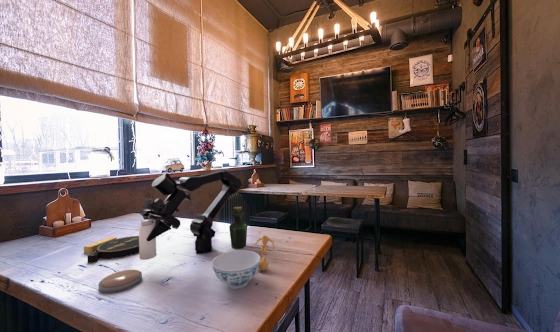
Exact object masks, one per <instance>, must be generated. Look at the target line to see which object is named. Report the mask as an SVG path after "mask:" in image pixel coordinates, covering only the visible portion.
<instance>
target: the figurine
mask: <svg viewBox="0 0 560 332" xmlns="http://www.w3.org/2000/svg"><path fill="white" fill-rule="evenodd" d="M260 241H262V242H261V243H262V244H261V245H260V250H259V253H260V254H261V256H260V263H259V267H258V270H259V271H261V272H264V271H266V270H268V267H269V262H268V260H267V259H266V258H267V254H268V253H267V252H268V248H269V245H268V242H271V243H272V249H273V251H275V250H276V249H275V244H274V241H273V240H272V239H271V238H270V237H269V236H268V235H264V234H263V235H262V237H260V238H257V240H256V242H255V243H254V245H253V248H255V247H256V246H257V244H258V242H260ZM263 251H264V253H263ZM263 254H264V258H263Z"/></svg>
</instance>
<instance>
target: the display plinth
mask: <svg viewBox="0 0 560 332" xmlns="http://www.w3.org/2000/svg"><path fill="white" fill-rule="evenodd" d="M142 280H143V273H142V271H140V270H138V269H126V270H121V271H117V272H114V273H112V274H109V275H106V276H105V277H104V278H102V279H101V280H100V281H99V283H98V292H100V293H102V294H115V293H119V292H122V291H126V290H129V289H131V288H134V287H135V286H137V285H138V284H139V283H141V282H142Z"/></svg>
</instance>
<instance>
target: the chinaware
mask: <svg viewBox="0 0 560 332" xmlns="http://www.w3.org/2000/svg"><path fill="white" fill-rule="evenodd" d="M260 258H261V256H260V255H259V254H258V253H257V252H255V251H252V250H244V249H243V250H242V249H236V250H231V251H227V252H223V253H221V254H218V255H217V256H215V257H214V258H213V260H212V262H211V266H212V269H213V272H214V274H215V276H216V278H217V279H218V280H219V281H220V282H222V283H224V285H226V287H227V288H229V289H231V290H232V289H233V290H238V289H242V288H245V286H247V285H248V283H249V281H251V280H252V279H253V277H254V276H255V275H256V273H257V272H258V270H259V269H258V267H259V263H260Z"/></svg>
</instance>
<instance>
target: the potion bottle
mask: <svg viewBox="0 0 560 332" xmlns="http://www.w3.org/2000/svg"><path fill="white" fill-rule="evenodd" d="M243 216H245V212H244V211H243V206H234V207H233V212H232V213H231V217H233V218H234V221H233V222H231V223H230V224H229V236H230V244H231V249H234V250H242V249H245V248H246V247H247V237H248V235H247V234H248V224H247V223H246V222H245V221H243V220H242V219H243Z"/></svg>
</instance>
